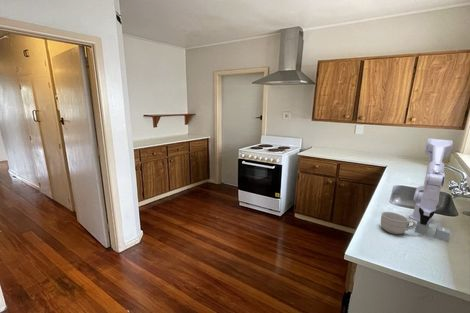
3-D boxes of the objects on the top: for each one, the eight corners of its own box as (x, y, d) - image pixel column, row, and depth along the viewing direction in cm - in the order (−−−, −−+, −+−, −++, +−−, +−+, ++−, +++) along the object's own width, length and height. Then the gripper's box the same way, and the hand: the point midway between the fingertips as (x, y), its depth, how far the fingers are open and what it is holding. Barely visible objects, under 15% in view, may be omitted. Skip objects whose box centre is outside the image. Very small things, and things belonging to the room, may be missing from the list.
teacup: (377, 231, 111) (380, 216, 109) (380, 222, 119) (383, 208, 117) (413, 242, 102) (417, 226, 101) (413, 232, 111) (417, 217, 109)
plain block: (415, 228, 114) (417, 220, 113) (426, 232, 112) (429, 223, 111) (414, 232, 111) (416, 223, 110) (426, 235, 108) (428, 227, 107)
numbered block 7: (398, 222, 119) (400, 214, 118) (408, 226, 117) (410, 217, 115) (397, 226, 116) (399, 217, 115) (407, 229, 113) (410, 221, 112)
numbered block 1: (434, 234, 110) (437, 225, 109) (447, 238, 107) (449, 229, 106) (434, 238, 107) (437, 229, 106) (447, 242, 104) (450, 233, 103)
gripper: (419, 191, 115) (413, 215, 118) (418, 200, 104) (411, 226, 108) (438, 195, 111) (431, 220, 114) (438, 205, 100) (430, 232, 103)
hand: (423, 224), depth 110 cm, fingers closed, pressing on plain block
